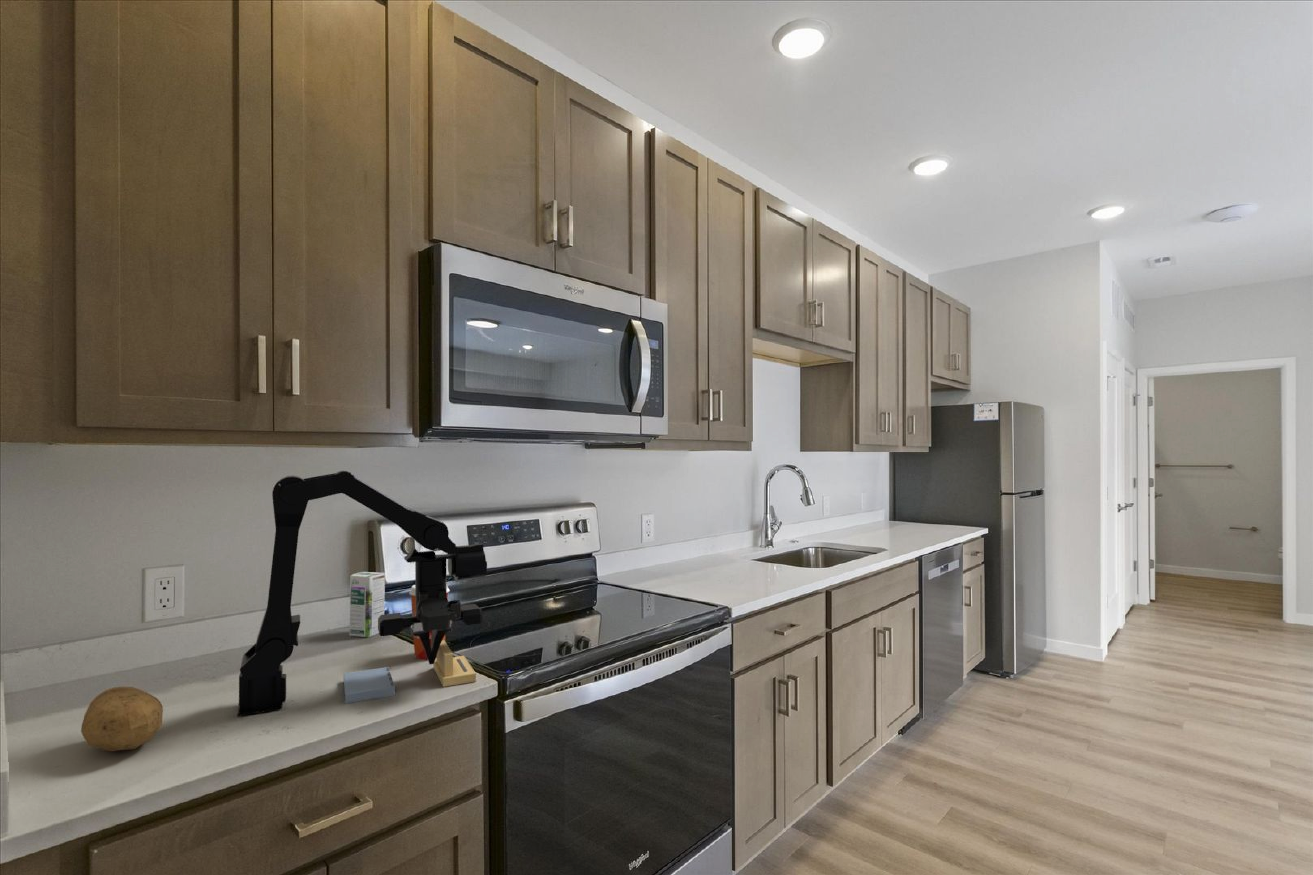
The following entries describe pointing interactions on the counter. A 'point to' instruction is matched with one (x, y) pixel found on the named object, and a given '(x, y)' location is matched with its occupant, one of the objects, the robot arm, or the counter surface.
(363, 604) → the syrup box
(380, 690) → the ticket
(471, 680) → the stub
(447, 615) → the robot arm
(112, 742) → the potato
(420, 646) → the coffee cup
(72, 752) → the counter surface
